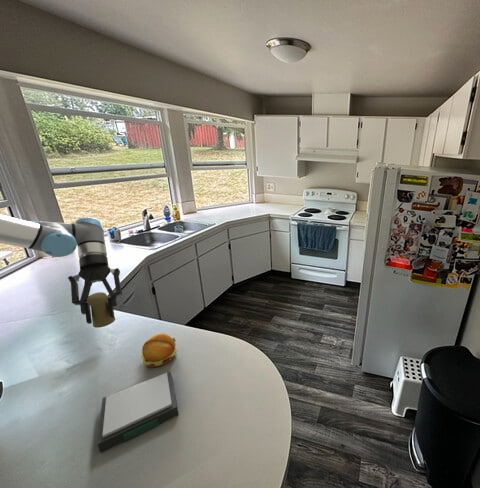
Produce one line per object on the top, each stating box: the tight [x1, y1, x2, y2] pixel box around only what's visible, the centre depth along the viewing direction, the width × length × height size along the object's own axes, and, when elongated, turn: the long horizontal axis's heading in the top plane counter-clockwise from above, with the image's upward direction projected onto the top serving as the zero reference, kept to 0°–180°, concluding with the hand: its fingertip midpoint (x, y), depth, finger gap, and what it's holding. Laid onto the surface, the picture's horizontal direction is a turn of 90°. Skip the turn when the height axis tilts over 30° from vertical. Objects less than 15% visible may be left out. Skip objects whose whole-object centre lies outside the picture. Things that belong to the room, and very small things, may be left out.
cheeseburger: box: [141, 333, 178, 368], centre depth 83 cm, size 10×11×10 cm
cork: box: [87, 291, 116, 328], centre depth 85 cm, size 6×6×11 cm
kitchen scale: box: [96, 371, 180, 453], centre depth 67 cm, size 16×14×4 cm
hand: (101, 319), depth 83 cm, fingers closed on cork, 5 cm apart
